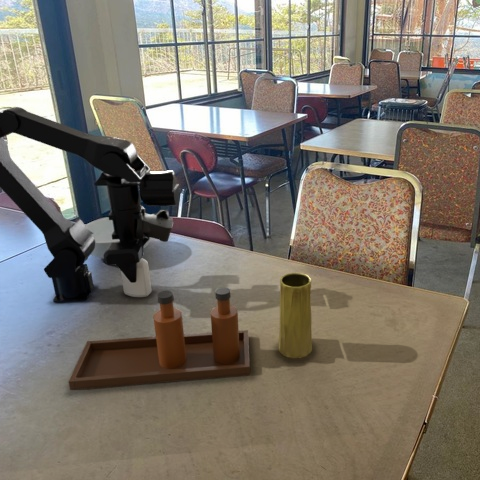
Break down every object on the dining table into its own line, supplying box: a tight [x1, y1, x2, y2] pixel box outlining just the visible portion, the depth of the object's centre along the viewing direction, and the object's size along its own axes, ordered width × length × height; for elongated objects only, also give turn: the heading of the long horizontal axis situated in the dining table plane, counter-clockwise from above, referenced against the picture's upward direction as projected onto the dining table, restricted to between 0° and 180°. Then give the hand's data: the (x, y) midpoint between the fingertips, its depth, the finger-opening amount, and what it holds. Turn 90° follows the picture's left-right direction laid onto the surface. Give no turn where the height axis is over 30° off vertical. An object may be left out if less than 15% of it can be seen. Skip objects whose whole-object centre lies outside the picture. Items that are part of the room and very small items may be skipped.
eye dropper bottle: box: [120, 258, 153, 298], centre depth 100 cm, size 4×6×12 cm
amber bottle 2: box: [210, 286, 240, 364], centre depth 80 cm, size 4×4×13 cm
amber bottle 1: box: [152, 290, 186, 369], centre depth 79 cm, size 4×4×13 cm
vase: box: [278, 272, 313, 359], centre depth 83 cm, size 6×6×14 cm
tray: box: [68, 329, 251, 391], centre depth 81 cm, size 28×11×2 cm, turn 99°
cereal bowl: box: [84, 217, 152, 259], centre depth 119 cm, size 17×17×7 cm
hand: (136, 275), depth 101 cm, fingers closed on eye dropper bottle, 5 cm apart
